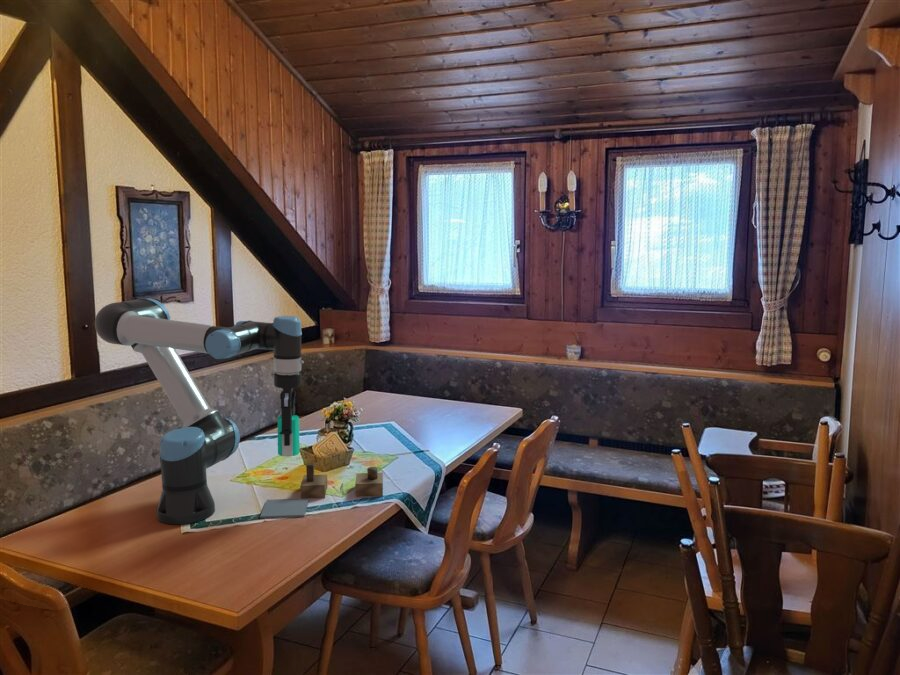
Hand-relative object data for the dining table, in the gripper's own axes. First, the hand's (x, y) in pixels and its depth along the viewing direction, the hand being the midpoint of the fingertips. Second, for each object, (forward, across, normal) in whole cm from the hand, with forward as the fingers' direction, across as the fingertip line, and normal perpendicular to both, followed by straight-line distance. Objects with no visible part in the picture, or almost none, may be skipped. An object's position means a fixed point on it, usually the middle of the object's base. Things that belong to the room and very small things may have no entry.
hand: (288, 451), depth 204 cm
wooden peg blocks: (+16, +9, -15) cm, 23 cm away
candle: (+1, 0, 0) cm, 1 cm away
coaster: (+16, -2, +1) cm, 16 cm away
